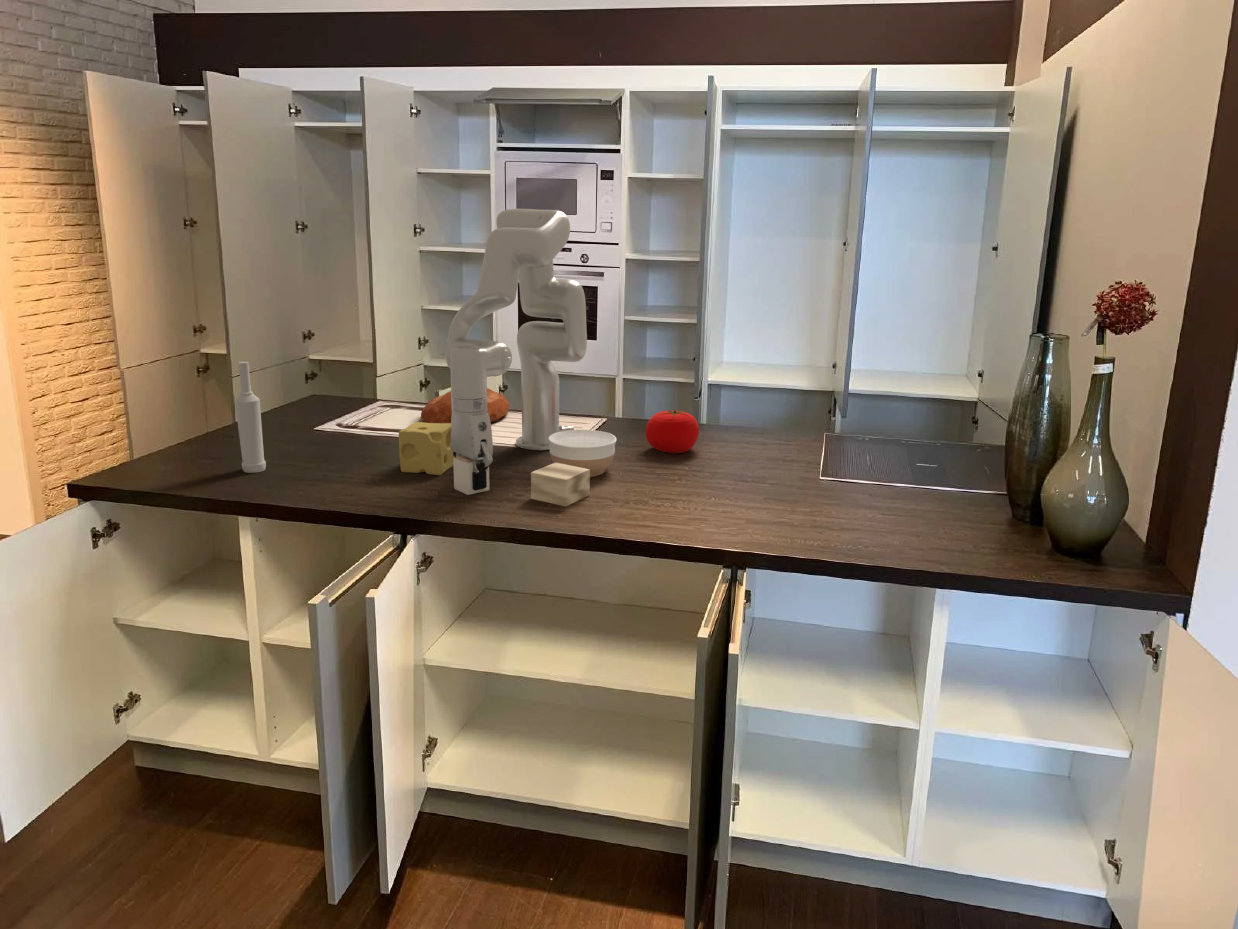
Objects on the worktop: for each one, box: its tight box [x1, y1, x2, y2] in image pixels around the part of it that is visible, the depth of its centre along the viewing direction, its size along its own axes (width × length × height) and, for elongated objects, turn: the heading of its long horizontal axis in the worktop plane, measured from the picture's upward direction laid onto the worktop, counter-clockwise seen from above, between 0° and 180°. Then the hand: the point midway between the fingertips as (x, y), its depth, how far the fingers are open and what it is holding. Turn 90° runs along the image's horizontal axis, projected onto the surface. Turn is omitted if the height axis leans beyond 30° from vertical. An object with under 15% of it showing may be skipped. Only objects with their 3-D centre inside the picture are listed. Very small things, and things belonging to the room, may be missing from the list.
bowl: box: [548, 429, 617, 478], centre depth 211 cm, size 16×16×8 cm
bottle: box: [234, 361, 267, 474], centre depth 204 cm, size 5×5×25 cm
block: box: [530, 462, 591, 507], centre depth 193 cm, size 9×9×6 cm
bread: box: [420, 387, 510, 423], centre depth 258 cm, size 23×32×9 cm
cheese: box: [398, 421, 455, 476], centre depth 211 cm, size 10×11×10 cm
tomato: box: [644, 409, 700, 454], centre depth 229 cm, size 14×13×10 cm
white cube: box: [452, 455, 490, 496], centre depth 196 cm, size 6×6×8 cm
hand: (471, 484), depth 197 cm, fingers closed on white cube, 5 cm apart
